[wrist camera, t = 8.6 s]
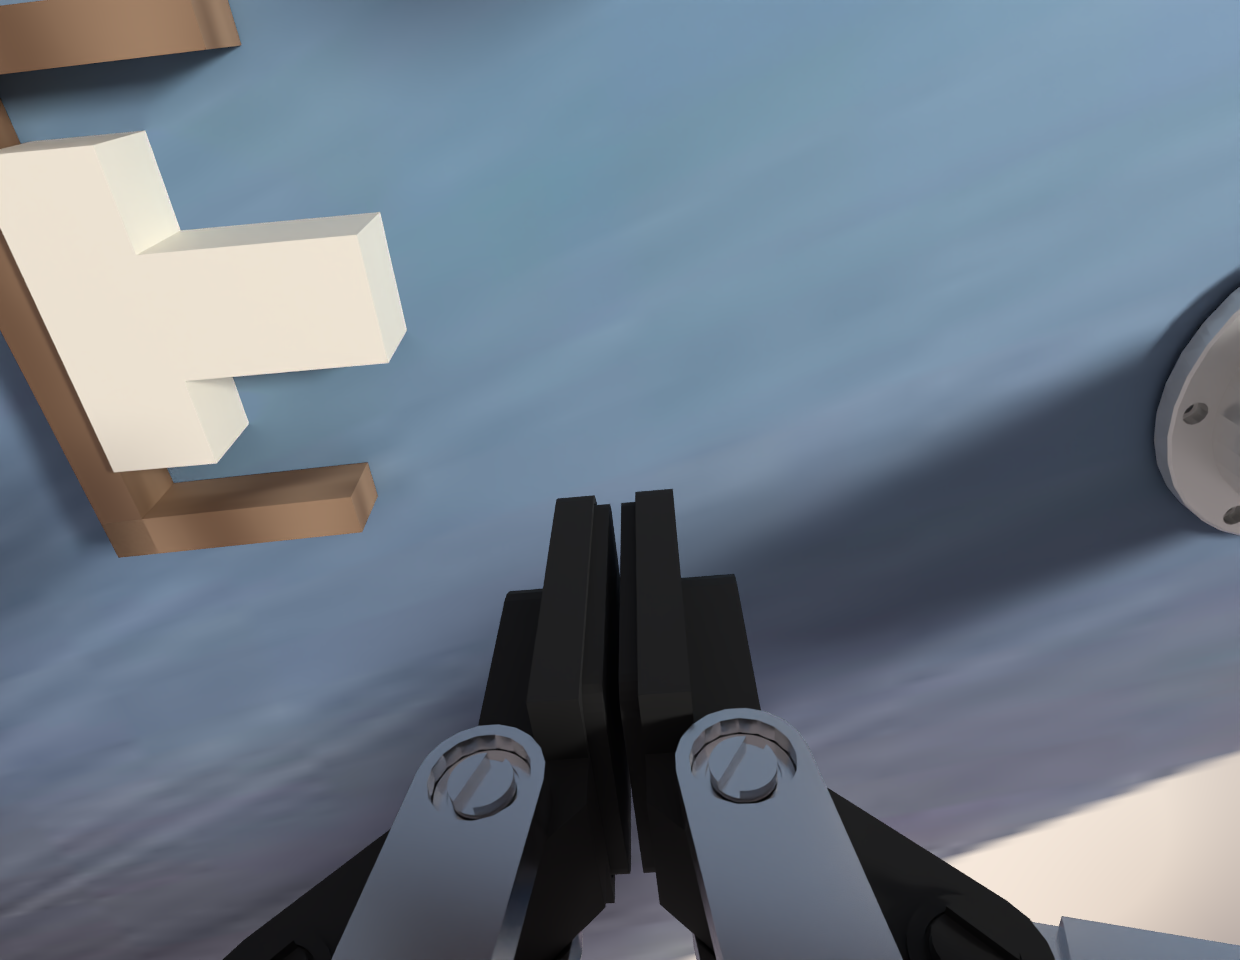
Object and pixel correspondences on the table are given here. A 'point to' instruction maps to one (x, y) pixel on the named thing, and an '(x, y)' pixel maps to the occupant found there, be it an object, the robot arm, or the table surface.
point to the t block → (182, 296)
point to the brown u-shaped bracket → (123, 501)
